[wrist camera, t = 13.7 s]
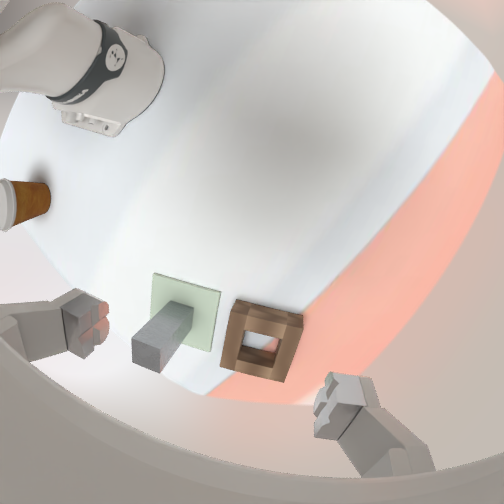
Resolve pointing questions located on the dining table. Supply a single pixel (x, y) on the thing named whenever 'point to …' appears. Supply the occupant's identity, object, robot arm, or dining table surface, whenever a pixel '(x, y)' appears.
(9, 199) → the disposable coffee cup
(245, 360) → the socket block
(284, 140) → the dining table surface
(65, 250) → the dining table surface
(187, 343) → the mat
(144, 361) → the peg
